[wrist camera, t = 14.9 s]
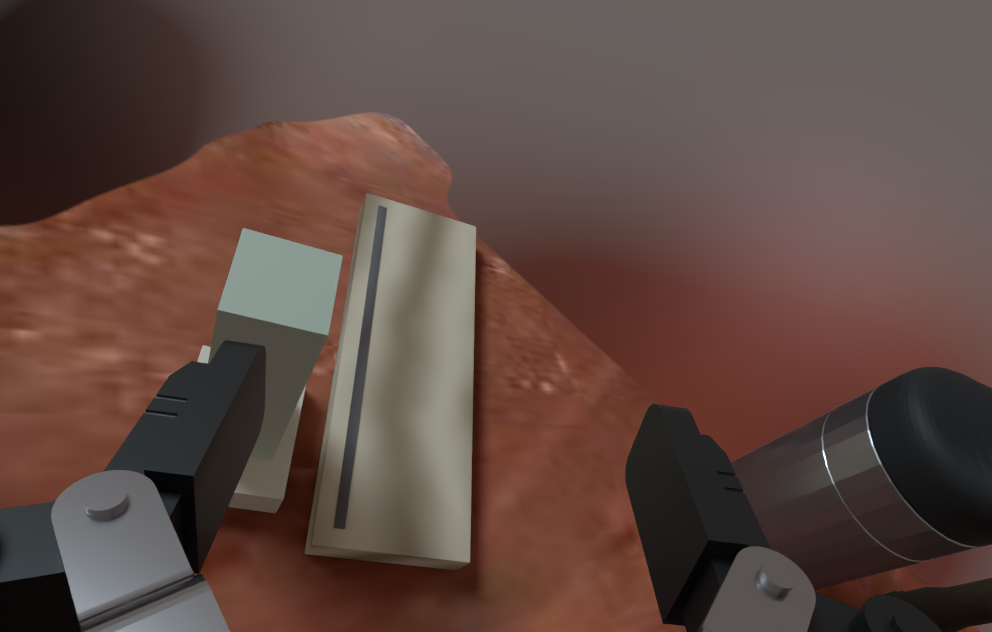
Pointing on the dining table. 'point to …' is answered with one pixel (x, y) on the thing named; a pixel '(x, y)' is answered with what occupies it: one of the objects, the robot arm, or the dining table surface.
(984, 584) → the stick grenade
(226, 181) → the dining table surface
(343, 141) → the dining table surface
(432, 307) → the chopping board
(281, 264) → the grey pillar on base
